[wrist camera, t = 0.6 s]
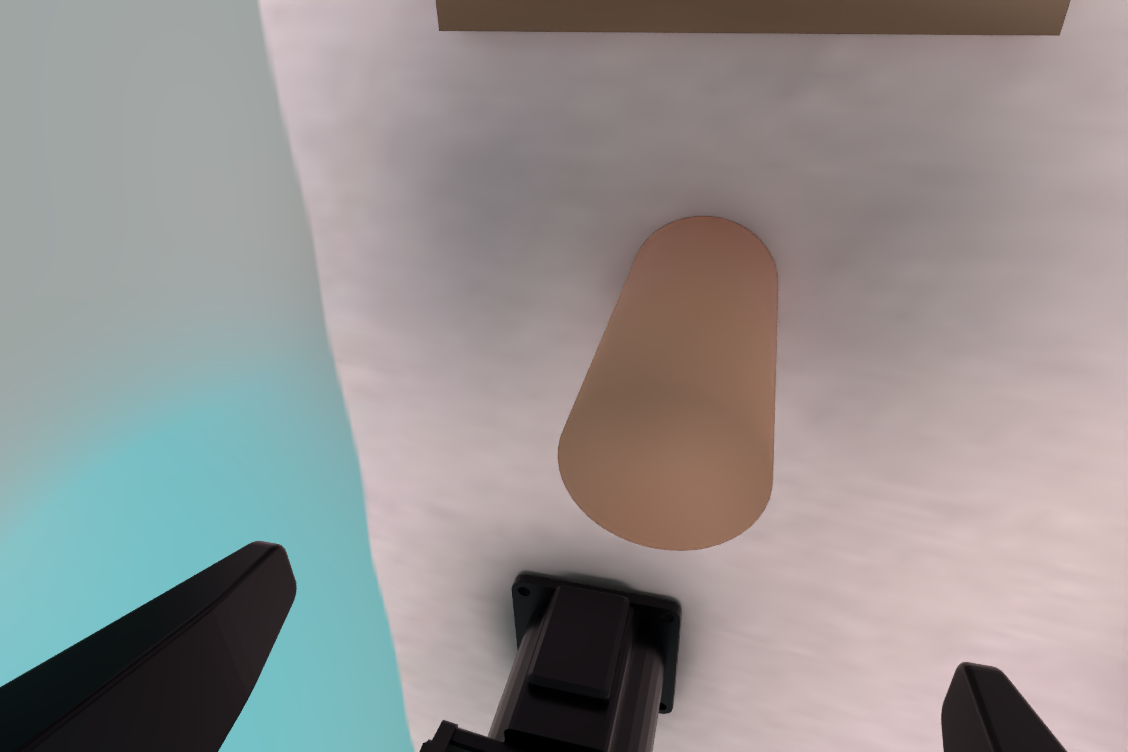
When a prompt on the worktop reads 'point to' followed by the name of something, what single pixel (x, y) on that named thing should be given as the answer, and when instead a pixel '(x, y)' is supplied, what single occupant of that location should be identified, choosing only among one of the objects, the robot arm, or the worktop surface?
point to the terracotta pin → (681, 393)
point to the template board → (758, 16)
